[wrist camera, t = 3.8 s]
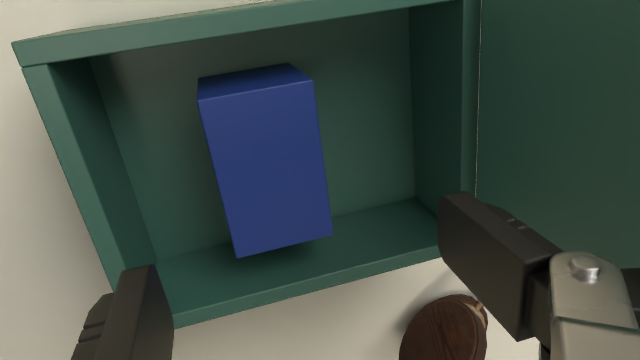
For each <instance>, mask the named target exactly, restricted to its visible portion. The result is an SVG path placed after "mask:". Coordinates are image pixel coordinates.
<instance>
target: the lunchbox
mask: <svg viewBox="0 0 640 360" xmlns="http://www.w3.org/2000/svg"><path fill="white" fill-rule="evenodd" d="M480 27H481V0H275V1H268V2H261V3H254V4H247V5H240V6H233V7H226V8H219V9H212V10H205V11H198V12H191V13H184V14H177V15H170V16H163V17H156V18H149V19H142V20H136V21H129V22H122V23H115V24H108V25H101V26H94V27H87V28H80V29H73V30H66V31H61V32H56V33H51V34H47V35H42V36H37V37H33V38H28V39H23V40H19V41H14V42H12V43H11V45H12V48H13V50H14V52H15V55H16V57H17V60H18V62H19V65H20V66H21V67H23V68H22V72H23V75H24V77H25V79H26V82H27V84H28V87H29V89H30V91H31V94H32V96H33V99H34V101H35V104H36V106H37V108H38V111H39V113H40V116H41V118H42V120H43V123H44V125H45V128H46V130H47V133H48V135H49V137H50V140H51V142H52V145H53V147H54V149H55V152H56V154H57V157H58V159H59V162H60V164H61V166H62V169H63V171H64V174H65V176H66V178H67V181H68V183H69V186H70V188H71V191H72V193H73V195H74V198H75V200H76V203H77V205H78V208H79V210H80V212H81V215H82V217H83V220H84V222H85V224H86V227H87V229H88V232H89V234H90V237H91V239H92V241H93V244H94V246H95V249H96V251H97V253H98V256H99V258H100V261H101V263H102V266H103V268H104V270H105V273H106V275H107V278H108V280H109V282H110V285H111V287H112V290H113V292H115V290H116V286H117V283H118V280H119V277H120V274H121V272H122V271H123V270H127V269H131V268H135V267H140V266H144V265H148V264H154V266H155V267H156V269H157V272H158V275H159V277H160V280H161V283H162V286H163V289H164V292H165V295H166V298H167V300H168V303H169V306H170V309H171V313H172V317H173V323H174V329H178V328H182V327H185V326H189V325H193V324H196V323H200V322H204V321H207V320H211V319H215V318H218V317H222V316H226V315H229V314H233V313H237V312H241V311H244V310H248V309H252V308H255V307H259V306H263V305H266V304H270V303H274V302H277V301H281V300H285V299H288V298H292V297H296V296H300V295H303V294H307V293H311V292H314V291H318V290H322V289H325V288H329V287H333V286H336V285H340V284H344V283H348V282H351V281H355V280H359V279H362V278H366V277H370V276H373V275H377V274H381V273H384V272H388V271H392V270H395V269H399V268H403V267H407V266H410V265H414V264H418V263H421V262H425V261H429V260H432V259H436V258H440V257H441V254H440V252H439V248H438V233H437V202H438V199H439V197H440V196H444V195H448V194H452V193H456V192H461V191H467V192H469V193H470V194H471V195H473V196H474V197H475V196H476V162H477V128H478V95H479V61H480ZM284 63H290V64H291V65H293V66H294V67H295V68H297V69H298V70H300V71H301V72H302V73H304V74H305V75H307V76H308V77H310V78H311V79H312V80H313V83H314V91H315V98H316V106H317V113H318V121H319V129H320V136H321V144H322V151H323V159H324V166H325V174H326V181H327V189H328V196H329V204H330V212H331V219H332V227H333V235H330V236H326V237H322V238H318V239H314V240H310V241H306V242H302V243H298V244H294V245H290V246H286V247H282V248H278V249H274V250H270V251H266V252H262V253H258V254H254V255H250V256H246V257H242V258H236V256H235V252H234V248H233V244H232V240H231V236H230V232H229V228H228V224H227V220H226V216H225V212H224V208H223V204H222V200H221V196H220V192H219V188H218V184H217V180H216V177H215V173H214V169H213V165H212V161H211V157H210V153H209V149H208V145H207V141H206V137H205V133H204V129H203V125H202V121H201V117H200V113H199V109H198V105H197V88H198V78H202V77H208V76H213V75H219V74H225V73H231V72H237V71H243V70H249V69H254V68H260V67H266V66H272V65H278V64H284Z"/></svg>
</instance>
